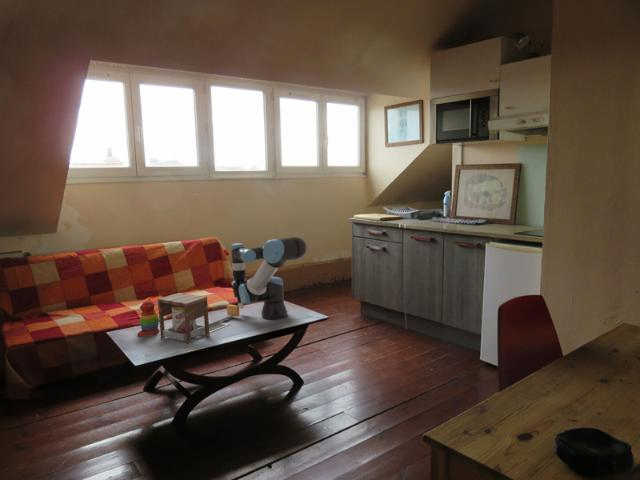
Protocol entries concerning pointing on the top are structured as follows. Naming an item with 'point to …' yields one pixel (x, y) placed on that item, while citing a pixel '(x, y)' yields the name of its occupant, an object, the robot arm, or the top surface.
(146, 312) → the stacking bear
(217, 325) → the pit mat
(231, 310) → the sled
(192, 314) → the small wooden table
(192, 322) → the candy bar box
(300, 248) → the robot arm
